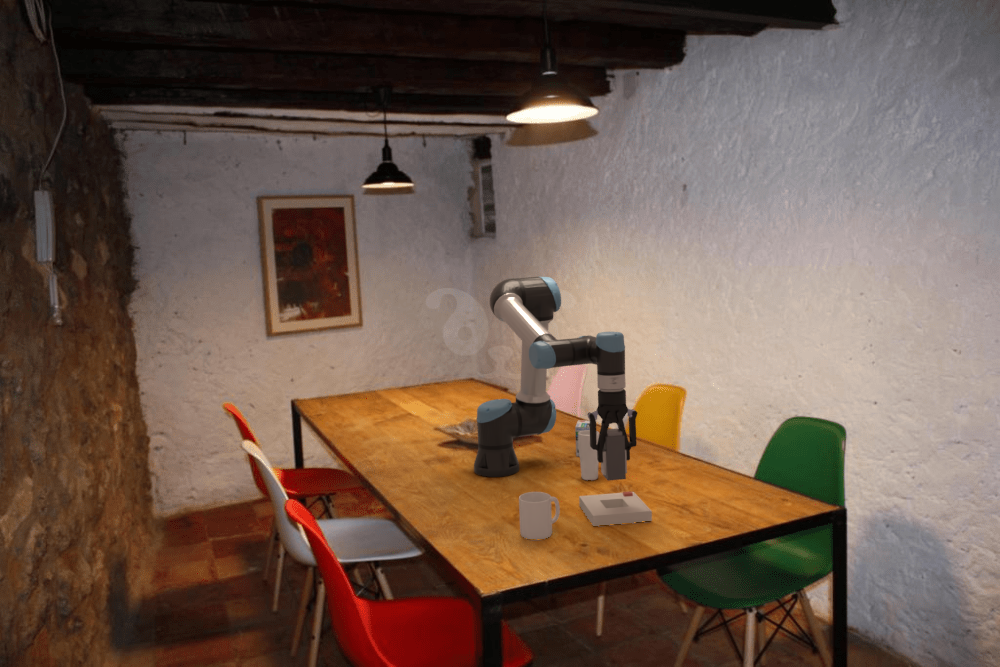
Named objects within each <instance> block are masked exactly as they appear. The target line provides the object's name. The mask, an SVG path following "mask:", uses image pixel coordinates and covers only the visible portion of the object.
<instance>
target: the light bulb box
mask: <svg viewBox="0 0 1000 667" xmlns="http://www.w3.org/2000/svg"><path fill="white" fill-rule="evenodd" d="M574 430H575V455H576V456H575V457H580V456H579V447H578V432H580V431H584V430H590V420H582V419H581V420H580V419H578V420H577V422H576V425H575V427H574Z"/></svg>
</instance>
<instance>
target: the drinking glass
mask: <svg viewBox="0 0 1000 667" xmlns="http://www.w3.org/2000/svg"><path fill="white" fill-rule="evenodd" d="M599 434H600V431H598V430H596V440H597V443H598V438H599ZM578 447H579V456H578V457H579V460H580V461H579V464H580V474H581V479H582V480H584V481H588V480H591V481H595V480H597V479H598V478H599V465H600V463H599V462H598V460H597V450H593V449H592V448H591V447H590V430H584V431H580V432H578Z"/></svg>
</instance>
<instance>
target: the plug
mask: <svg viewBox="0 0 1000 667" xmlns="http://www.w3.org/2000/svg"><path fill="white" fill-rule="evenodd" d="M603 449H604V450H605V451H606V475H603V474H602V476H603V477H604V478H605V479H606V480H607V481H608V482H609V481H617V480H626V479H627V475H626V474H627V473H626V469H625V436H624V435H622V431H620V430H619V429H618V428H610V429H609V428H608V430H607V435H606V436H605V443H604V448H603Z"/></svg>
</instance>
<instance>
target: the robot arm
mask: <svg viewBox="0 0 1000 667" xmlns="http://www.w3.org/2000/svg"><path fill="white" fill-rule="evenodd" d="M561 305H562V295H561V290H560V288H559V286H558V283H557V282H556V281H555V279H554V278H552V277H549V276H529V277H520V278H519V277H517V278H507V279H504V280H502V281H500V282H499V283H498V284H496V286H494V288H493V289H492V291H491V293H490V296H489V307H490V310H491V312H492V314H493V315H494V316H495V318H496V319H498V320H499V321H501V322H504V323H505V324H506V325H507V326H508V327H509V328H510V329H511V330H512V332H514V334H515V335H516V337H518V338H519V339H520V340H521V355H520V357H521V358H520V359H521V360H520V363H521V364H520V365H521V366H520V390H519V391H518V392H517V393H516V395H515V401H514V402H512V401H511V399H508V398H500V399H499V398H498V399H491V400H487V401H485V402H482V403H481V404H479V406H478V407H477V410H476V426H477V427H476V429H477V445H478V446H477V447H478V448H477V453H476V456H475V459H474V464H473V472H474V473H475V474H477V475H478V476H481V475H482V476H481V477H486V476H487V478H497V477H498V478H500V477H506V476H511V475H514V474H516V473H518V472H519V471H520V463H519V460H518V457H517V454H516V451H515V449H514V438H519V437H520V438H521V437H527V436H536V435H537V436H539V435H541V434H547V433H549V432H550V431H551V430H553V428H554V426H555V424H556V420H557V410H556V404H555V402H554V400H553V399H551V395H550V394H549V393H548V392H547V374H548V373H547V372H548V370H549V369H553V368H554V369H555V368H561V367H570V366H581V365H591V364H592V365H596V375H597V377H596V379H597V380H596V381H597V388H598V391H597V407H596V410H595V411H593V412H588V413H587V414H586V416H587V418H588V421H590V447H591V448H592V449H593V450H597V460H598V462H599V464H600V467H601V469H600V471H601V474H602V476H603V475H606V451H605V450H604V449H603V448H604V443H605V436H606V435H607V430H608V429H609V427H610V425H612V424H616V425H617V429H619V430H620V431H622V435H624V436H625V469H626V474H627V473H628V466H627V465H628V462H627V461H630V460H631V449H632V448H634V447H636V446H637V427H636V426H637V424H636V421H637V420H636V419H637V416H638V411H636V410H635V409H633V408H632V409H630V408H628V406H627V391H626V390H625V388H626V387H627V386H626V345H625V337H624V334H623V333H622V332H620V331H601V332H598V333H597V334H596V336H593V335H580V336H579V337H574V338H564V339H557V338H556V337H555V336H554V335H553V334H552V333H550V331H549V324H550V323H551V322H552V321H553V320H554V315H555V314H554V313H557V312H558V311H560V308H561V307H562V306H561ZM626 414H627V416H628V432H629V434H627V431H626V428H625V423H624V418H625V416H626ZM598 416H599V418H601V423H600V424H601V426H600V429H599V430H600V431H599V438H598V443H597V440H596V431H597V420H598ZM628 436H629V438H628Z"/></svg>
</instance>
